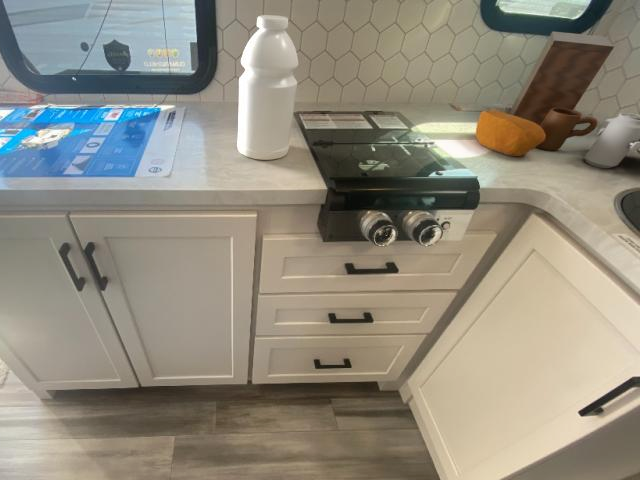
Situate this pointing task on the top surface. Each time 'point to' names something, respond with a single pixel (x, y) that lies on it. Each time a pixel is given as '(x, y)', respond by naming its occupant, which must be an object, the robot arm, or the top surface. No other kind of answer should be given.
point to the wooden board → (561, 74)
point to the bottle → (267, 91)
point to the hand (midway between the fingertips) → (615, 138)
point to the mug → (563, 127)
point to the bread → (508, 133)
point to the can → (614, 141)
